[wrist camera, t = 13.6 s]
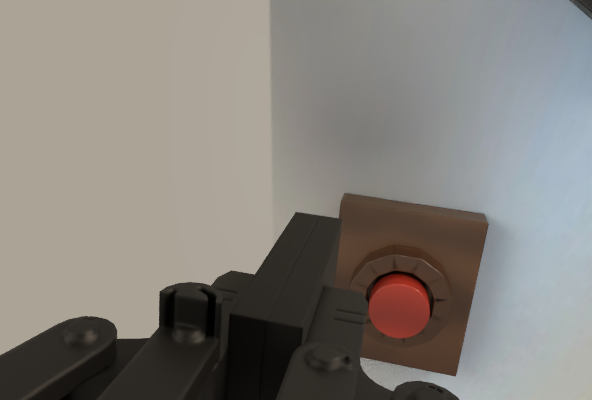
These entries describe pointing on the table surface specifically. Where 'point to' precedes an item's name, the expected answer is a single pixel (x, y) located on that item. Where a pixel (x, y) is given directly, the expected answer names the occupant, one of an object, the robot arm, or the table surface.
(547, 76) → the table surface
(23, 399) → the robot arm
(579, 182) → the table surface
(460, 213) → the button block
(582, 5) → the bracket
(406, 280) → the button
